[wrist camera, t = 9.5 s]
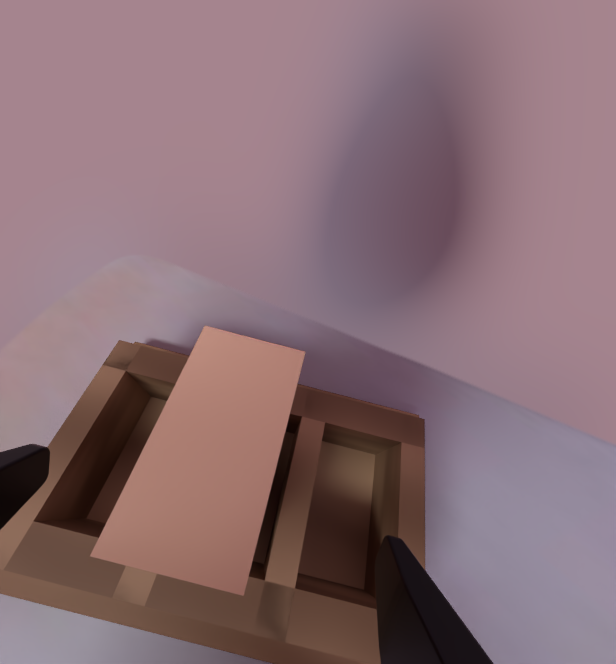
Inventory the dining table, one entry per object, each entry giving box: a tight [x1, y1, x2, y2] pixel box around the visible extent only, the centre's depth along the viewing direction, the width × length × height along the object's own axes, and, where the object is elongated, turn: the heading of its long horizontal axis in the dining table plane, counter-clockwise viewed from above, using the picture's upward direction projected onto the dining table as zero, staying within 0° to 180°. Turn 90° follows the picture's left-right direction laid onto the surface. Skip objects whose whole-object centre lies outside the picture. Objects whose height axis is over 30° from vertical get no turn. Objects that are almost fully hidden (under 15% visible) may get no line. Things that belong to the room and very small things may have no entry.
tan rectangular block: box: [90, 326, 305, 596], centre depth 11 cm, size 4×2×12 cm, turn 168°
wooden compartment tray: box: [0, 340, 425, 664], centre depth 15 cm, size 13×20×5 cm, turn 78°
